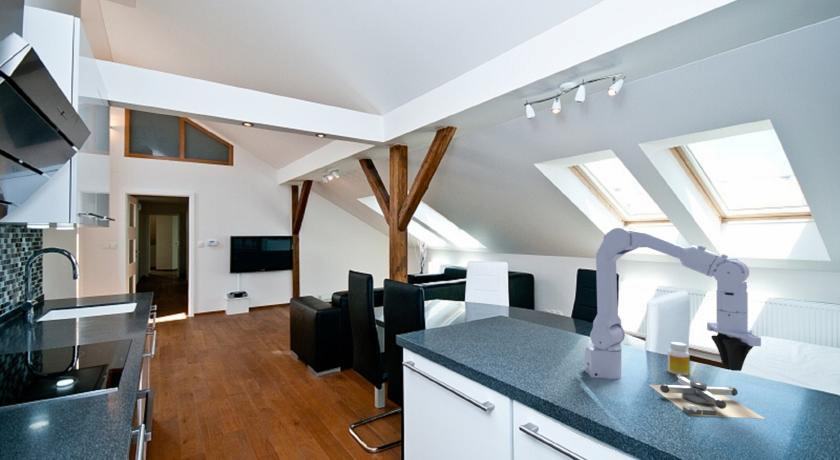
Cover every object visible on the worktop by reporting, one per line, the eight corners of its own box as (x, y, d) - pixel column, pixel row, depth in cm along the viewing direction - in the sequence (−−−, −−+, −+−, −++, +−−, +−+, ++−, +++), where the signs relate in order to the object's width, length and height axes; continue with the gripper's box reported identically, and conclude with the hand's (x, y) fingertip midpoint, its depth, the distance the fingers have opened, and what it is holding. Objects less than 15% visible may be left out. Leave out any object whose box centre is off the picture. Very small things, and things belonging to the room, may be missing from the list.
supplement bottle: (693, 380, 111) (693, 346, 111) (672, 378, 112) (672, 345, 112) (684, 373, 116) (684, 341, 116) (664, 372, 117) (664, 340, 117)
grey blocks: (688, 414, 87) (688, 406, 87) (682, 410, 89) (682, 402, 89) (716, 415, 86) (716, 407, 86) (710, 411, 88) (710, 403, 88)
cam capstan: (682, 413, 87) (682, 397, 87) (642, 382, 105) (642, 369, 105) (766, 416, 86) (766, 400, 86) (712, 385, 104) (712, 372, 104)
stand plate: (689, 420, 86) (689, 415, 86) (648, 388, 104) (648, 384, 104) (765, 424, 85) (765, 418, 85) (710, 391, 103) (710, 386, 103)
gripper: (775, 317, 83) (776, 380, 83) (727, 305, 98) (727, 359, 97) (741, 316, 84) (741, 379, 83) (698, 305, 98) (698, 358, 98)
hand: (732, 368), depth 90 cm, fingers closed
